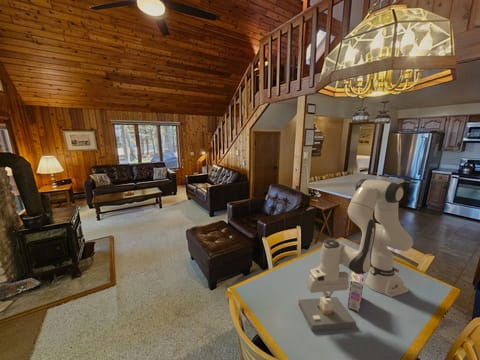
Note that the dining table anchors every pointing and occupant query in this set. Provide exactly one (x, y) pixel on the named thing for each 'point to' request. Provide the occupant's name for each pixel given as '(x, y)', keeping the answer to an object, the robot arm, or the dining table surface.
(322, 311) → the cream and tan block
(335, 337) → the dining table surface
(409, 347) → the dining table surface
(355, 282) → the candy box
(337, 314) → the socket
